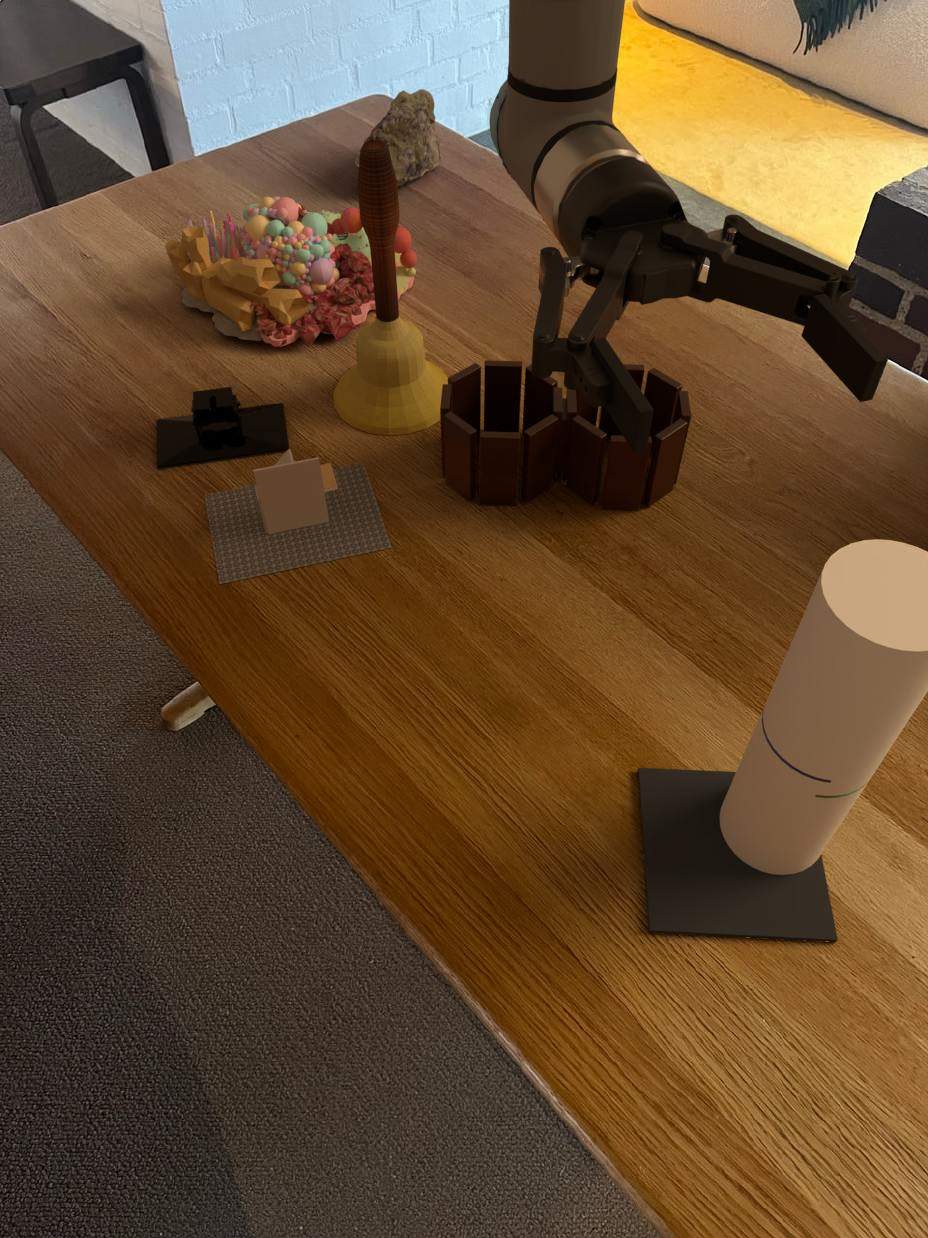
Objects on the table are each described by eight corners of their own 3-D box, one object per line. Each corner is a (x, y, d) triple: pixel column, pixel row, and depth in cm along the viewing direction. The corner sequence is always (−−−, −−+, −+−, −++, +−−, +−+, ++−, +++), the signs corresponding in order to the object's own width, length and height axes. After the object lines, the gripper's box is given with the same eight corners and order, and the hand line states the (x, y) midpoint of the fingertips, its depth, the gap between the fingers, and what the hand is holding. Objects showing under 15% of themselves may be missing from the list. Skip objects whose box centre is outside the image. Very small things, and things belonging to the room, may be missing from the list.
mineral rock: (364, 204, 120) (356, 121, 112) (337, 166, 126) (328, 85, 119) (459, 183, 123) (458, 102, 115) (428, 147, 129) (425, 67, 122)
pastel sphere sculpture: (312, 377, 98) (299, 297, 91) (143, 308, 106) (119, 230, 99) (442, 263, 112) (440, 185, 104) (283, 209, 119) (271, 134, 112)
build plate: (157, 470, 90) (143, 431, 86) (157, 421, 95) (144, 382, 91) (289, 451, 91) (281, 412, 88) (283, 403, 96) (275, 364, 92)
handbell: (456, 358, 100) (453, 110, 81) (452, 436, 93) (448, 183, 73) (339, 356, 101) (307, 109, 81) (325, 434, 93) (287, 182, 73)
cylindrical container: (731, 767, 69) (832, 524, 50) (832, 800, 67) (978, 561, 48) (709, 853, 65) (810, 625, 46) (816, 890, 63) (968, 669, 44)
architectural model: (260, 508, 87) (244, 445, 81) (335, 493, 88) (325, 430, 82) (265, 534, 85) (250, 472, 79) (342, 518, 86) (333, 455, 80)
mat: (804, 778, 69) (806, 774, 69) (835, 943, 62) (838, 940, 61) (637, 770, 70) (638, 767, 69) (648, 933, 62) (649, 930, 62)
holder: (669, 434, 93) (684, 365, 86) (679, 512, 86) (695, 443, 80) (447, 427, 93) (445, 358, 87) (439, 503, 87) (437, 435, 81)
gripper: (764, 232, 69) (939, 414, 56) (430, 294, 65) (537, 507, 52) (790, 125, 63) (992, 301, 50) (425, 185, 59) (544, 394, 46)
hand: (761, 406), depth 51 cm, fingers open, 13 cm apart
